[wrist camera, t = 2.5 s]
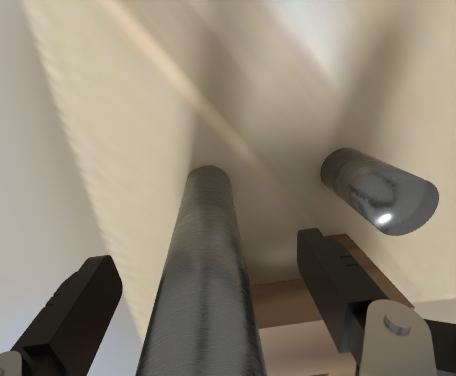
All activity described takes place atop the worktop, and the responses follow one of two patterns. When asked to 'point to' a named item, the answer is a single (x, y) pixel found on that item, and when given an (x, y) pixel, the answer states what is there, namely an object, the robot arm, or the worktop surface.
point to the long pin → (204, 291)
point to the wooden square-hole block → (307, 324)
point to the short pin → (380, 191)
